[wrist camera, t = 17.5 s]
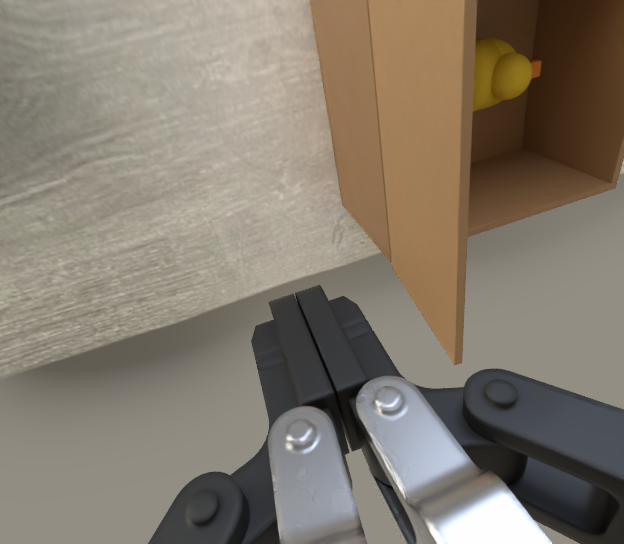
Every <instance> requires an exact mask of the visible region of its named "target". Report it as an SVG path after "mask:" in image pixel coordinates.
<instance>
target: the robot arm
mask: <svg viewBox="0 0 624 544" xmlns="http://www.w3.org/2000/svg"><path fill="white" fill-rule="evenodd" d="M295 295H296V299H297V301H296V299H295V296H294V294H291V295H288V296H285V297H282V298H279V299H276V300H273V301H270V302H269V305H270V308H271V311H272V315H273V318H274V320H272V321H269V322H266V323H263V324H260V325H257V326H256V327H255V331H254V334H253V337H252V341H251V342H252V346H253V351H254V355H255V360H256V364H257V368H258V373H259V377H260V382H261V386H262V391H263V395H264V399H265V404H266V408H267V412H268V417H269V431H268V435H267V438H266V441H265V443H264V444H263V446H262V448H261V449H260V450H259V452H258V453H257V454H256V455H255V456H254V457H253V458H252V459H251V460H250V461H248V462H247V463H246V464H244V466H242V467H240V468H239V469H238V470H237V471H235V472H234V473H233V474H232V475H228V474H226V473H222V472H209V473H205V474H202V475H200V476H198V477H196V478H195V479H193V480H192V481H190V482H189V483H188V484H187V485H186V486H185V487H184V488H183V489H182V490H181V491H180V493H179V494H178V495H177V497H176V498H175V500H174V502H173V503H172V505H171V507H170V508H169V510H168V512H167V513H166V515H165V517H164V518H163V520H162V522H161V523H160V525H159V527H158V528H157V530H156V531H155V533H154V535H153V537H152V538H151V540H150V542H149V543H148V544H367V541H366V538H365V534H364V531H363V528H362V524H361V520H360V517H359V513H358V510H357V506H356V503H355V499H354V496H353V492H352V479H351V476H350V472H349V468H348V465H347V461H346V457H345V454H347V453H349V449H348V445H347V441H346V438H347V440H348V443H349V445H350V448H351V450H352V451H355V450H358V449H360V448H361V449H362V451H363V454H364V456H365V458H366V461H367V463H368V466H369V470H370V475H371V478H372V481H373V483H374V485H375V487H376V489H377V491H378V493H379V495H380V497H381V499H382V501H383V503H384V505H385V507H386V509H387V511H388V513H389V515H390V517H391V519H392V521H393V523H394V525H395V527H396V529H397V531H398V533H399V535H400V536H401V539H402V541H403V543H404V544H552V543H551V541H550V540H549V539H548V538H547V536H546V535H545V534H544V532H543V531H542V530H541V529H540V527H539V526H538V525H537V524H536V522H535V521H537V522H539V523H541V524H543V525H545V526H547V527H549V528H551V529H553V530H555V531H557V532H559V533H561V534H563V535H564V536H566V537H568V538H570V539H573V540H574V541H576V542H578V543H580V544H624V410H623V409H620V408H617V407H614V406H611V405H608V404H605V403H602V402H599V401H596V400H593V399H591V398H588V397H585V396H582V395H579V394H576V393H573V392H570V391H567V390H564V389H561V388H558V387H555V386H552V385H549V384H546V383H543V382H540V381H537V380H534V379H531V378H528V377H525V376H522V375H519V374H517V373H514V372H511V371H507V370H502V369H485V370H481V371H479V372H477V373H475V374H473V375H472V376H471V377H470V378H468V380H467V381H466V383H465V386H464V387H460V388H443V389H431V388H424V387H420V386H417V385H414V384H413V383H411V382H409V381H407V380H406V379H405V378H404V377H403V376H402V375H401V374H400V373H399V372H398V370H397V369H396V367H395V366H394V364H393V362H392V360H391V359H390V357H389V356H388V354H387V352H386V351H385V349H384V347H383V346H382V344H381V342H380V341H379V339H378V338H377V336H376V334H375V333H374V331H372V328H371V326H370V325H369V323H368V321H367V320H366V319H365V316H364V315H363V313H362V312H361V310H360V308H359V307H358V305H357V304H355V303H354V302H352V301H350V300H349V299H348V298H346V297H344V296H342V297H339V298H336V299H333V300H330V301H328V299H327V297H326V295H325V293H324V291H323V289H322V287H321V286H320V285H318V286H315V287H312V288H309V289H305V290H302V291H299V292H296V293H295ZM297 303H298V304H297ZM345 435H346V437H345ZM534 520H535V521H534Z"/></svg>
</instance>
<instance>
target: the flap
mask: <svg viewBox="0 0 624 544" xmlns="http://www.w3.org/2000/svg"><path fill="white" fill-rule="evenodd" d="M368 4H369V15H370V26H371V37H372V48H373V59H374V70H375V81H376V92H377V103H378V114H379V125H380V137H381V148H382V159H383V170H384V181H385V192H386V203H387V214H388V225H389V236H390V247H391V258H392V268H393V270H394V271H395V273H396V275H397V276H398V278H399V279H400V281H401V282H402V284H403V285H404V287H405V288H406V290H407V292H408V293H409V295H410V296H411V298H412V299H413V301H414V303H415V304H416V306H417V307H418V309H419V311H420V312H421V314H422V315H423V317H424V318H425V320H426V321H427V323H428V325H429V326H430V328H431V329H432V331H433V332H434V334H435V336H436V337H437V339H438V340H439V341H440V343H441V345H442V346H443V348H444V350H445V351H446V353H447V354H448V356H449V357H450V359H451V361H452V362H453V364H454V365H457V364H460V363H462V352H463V328H464V326H463V325H464V304H465V279H466V257H467V255H466V254H467V233H468V209H469V185H470V161H471V138H472V114H473V90H474V66H475V42H476V19H477V0H368Z"/></svg>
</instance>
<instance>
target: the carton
mask: <svg viewBox="0 0 624 544" xmlns="http://www.w3.org/2000/svg"><path fill="white" fill-rule="evenodd" d="M310 6H311V12H312V18H313V24H314V30H315V37H316V43H317V49H318V55H319V61H320V68H321V74H322V80H323V86H324V92H325V98H326V105H327V111H328V117H329V123H330V129H331V136H332V142H333V148H334V154H335V160H336V167H337V173H338V179H339V185H340V191H341V197H342V204H343V206H344V207H345V208H346V209H347V211H348V212H349V213H350V214H351V215H352V217H353V218H354V219H355V220H356V221H357V222H358V224H359V225H360V226H361V227H362V228H363V230H364V231H365V232H366V233H367V234H368V236H369V237H370V238H371V239H372V240H373V242H374V243H375V244H376V245H377V246H378V247H379V249H380V250H381V251H382V252H383V253H384V255H385V256H386V257H387V258H388V259H389V261H390V262H392V258H391V247H390V236H389V225H388V214H387V203H386V192H385V181H384V170H383V159H382V148H381V137H380V125H379V114H378V103H377V92H376V81H375V70H374V59H373V48H372V37H371V26H370V15H369V4H368V0H310ZM486 38H497V39H501V40H503V41H505V42H507V43H508V44H510V45H511V46H512V47H513V49H514V50H515V51H516V53H519V54H522V55H524V56H525V57H526V58H527V59H528V60H529V61H533V60H541V61H542V62H541V70H540V76H539V77H536V78H532V79H531V81H530V84H529V85H528V87H527V88H526V90H525V91H524V92H523V93H521V94H520V95H519V96H517V97H515V98H513V99H509V100H502V101H500V102H499V103H497V104H495V105H493V106H491V107H488V108H484V109H481V110H477V111H474V112H473V114H472V138H471V161H470V185H469V209H468V233H467V237H469V236H472V235H475V234H478V233H481V232H484V231H487V230H490V229H493V228H496V227H499V226H502V225H505V224H508V223H511V222H514V221H517V220H521V219H524V218H526V217H530V216H532V215H536V214H539V213H542V212H545V211H548V210H551V209H554V208H557V207H560V206H563V205H566V204H569V203H572V202H575V201H578V200H581V199H584V198H587V197H590V196H593V195H596V194H599V193H602V192H605V191H608V190H611V189H615V188H616V184H617V180H618V177H619V173H620V170H621V166H622V162H623V159H624V0H477V19H476V40H479V39H486Z"/></svg>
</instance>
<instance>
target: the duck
mask: <svg viewBox="0 0 624 544" xmlns="http://www.w3.org/2000/svg"><path fill="white" fill-rule="evenodd" d="M541 62H542V61H541V60H533V61H529V60H528V59H527V58H526V57H525V56H524V55H522V54H519V53H516V51H515V50H514V49H513V47H512V46H511V45H510V44H508V43H507V42H505V41H503V40H501V39H497V38H486V39H479V40H476V42H475V66H474V90H473V112H474V111H477V110H481V109H484V108H488V107H491V106H493V105H495V104H497V103H499V102H500V101H502V100H509V99H513V98H515V97H517V96H519V95H520V94H521V93H523V92H524V91H525V90H526V88H527V87H528V85H529V84H530V81H531V79H532V78H536V77H539V76H540V70H541Z"/></svg>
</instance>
